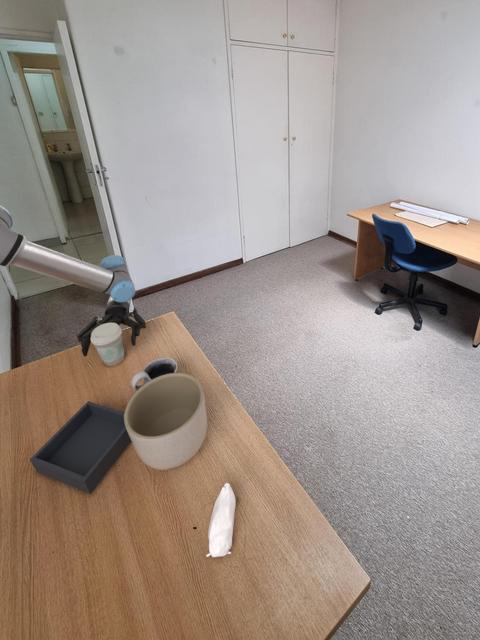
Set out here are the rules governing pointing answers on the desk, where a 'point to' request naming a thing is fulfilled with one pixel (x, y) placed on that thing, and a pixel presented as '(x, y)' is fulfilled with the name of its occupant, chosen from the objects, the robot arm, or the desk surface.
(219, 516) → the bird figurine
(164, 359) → the mug
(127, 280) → the robot arm
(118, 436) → the bin
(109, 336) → the coffee cup
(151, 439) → the planter
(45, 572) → the desk surface
